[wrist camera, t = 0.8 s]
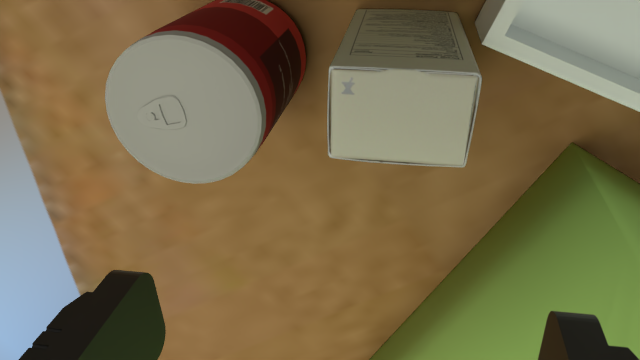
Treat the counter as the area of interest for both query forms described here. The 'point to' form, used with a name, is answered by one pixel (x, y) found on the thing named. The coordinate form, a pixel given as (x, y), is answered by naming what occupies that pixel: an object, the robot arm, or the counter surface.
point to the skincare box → (403, 89)
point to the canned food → (206, 89)
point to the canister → (538, 271)
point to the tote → (571, 41)
